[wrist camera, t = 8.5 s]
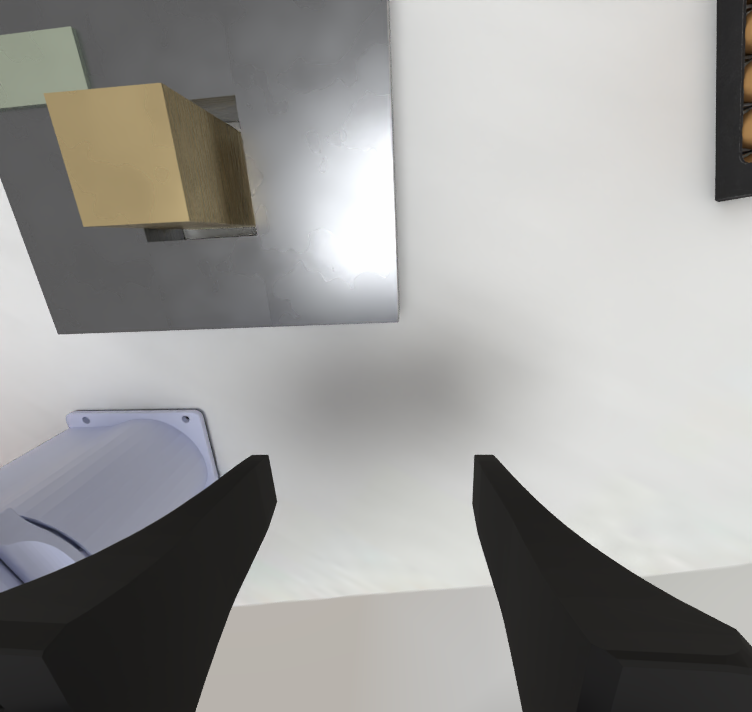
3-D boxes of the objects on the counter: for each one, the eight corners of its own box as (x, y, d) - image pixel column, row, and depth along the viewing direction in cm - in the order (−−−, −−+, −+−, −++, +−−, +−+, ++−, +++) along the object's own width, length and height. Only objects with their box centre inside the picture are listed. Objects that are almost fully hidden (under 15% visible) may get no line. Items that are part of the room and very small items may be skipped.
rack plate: (104, 321, 21) (54, 335, 18) (13, 35, 17) (-75, -9, 14) (399, 309, 19) (398, 323, 16) (388, -12, 15) (384, -74, 12)
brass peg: (195, 229, 19) (83, 226, 12) (178, 146, 18) (43, 93, 11) (265, 226, 19) (189, 221, 12) (254, 140, 17) (160, 82, 11)
